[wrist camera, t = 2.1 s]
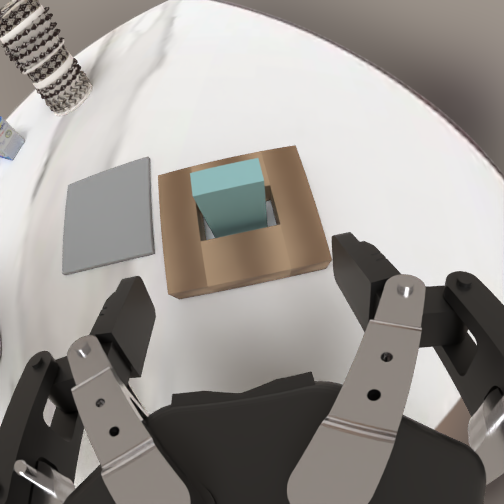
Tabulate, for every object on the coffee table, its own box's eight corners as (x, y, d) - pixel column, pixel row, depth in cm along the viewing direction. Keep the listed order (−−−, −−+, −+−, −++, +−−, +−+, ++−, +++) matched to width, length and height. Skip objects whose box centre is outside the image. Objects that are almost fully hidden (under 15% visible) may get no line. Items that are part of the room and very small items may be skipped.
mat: (65, 275, 28) (62, 273, 28) (70, 187, 32) (68, 185, 31) (154, 253, 28) (152, 252, 27) (149, 159, 32) (148, 156, 31)
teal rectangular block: (216, 240, 28) (192, 196, 19) (213, 221, 29) (190, 172, 20) (267, 229, 28) (264, 180, 19) (263, 210, 28) (258, 157, 20)
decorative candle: (102, 85, 38) (43, -22, 14) (63, 123, 36) (-14, 21, 12) (81, 78, 40) (27, -13, 16) (47, 111, 38) (-19, 25, 14)
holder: (179, 299, 26) (168, 294, 24) (167, 189, 30) (158, 175, 27) (325, 268, 26) (331, 259, 23) (293, 162, 30) (295, 145, 27)
